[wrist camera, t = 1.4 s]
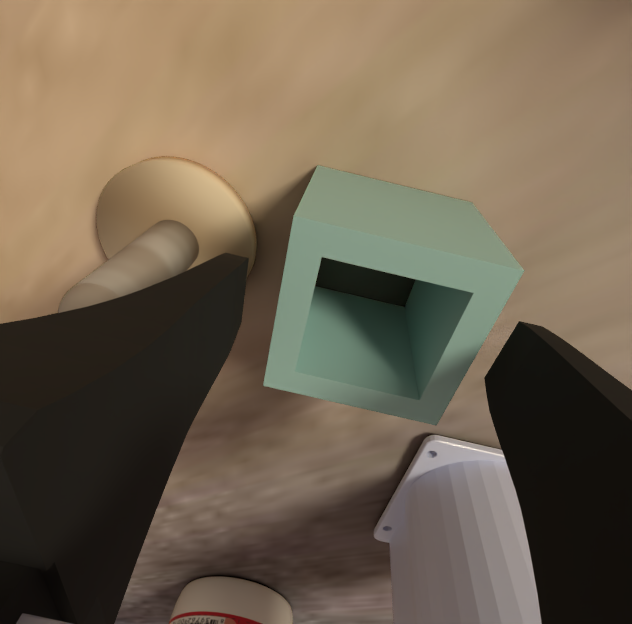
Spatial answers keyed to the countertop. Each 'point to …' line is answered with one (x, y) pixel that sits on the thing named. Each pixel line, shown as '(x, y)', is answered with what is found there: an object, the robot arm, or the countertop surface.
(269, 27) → the countertop surface
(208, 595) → the fruit juice
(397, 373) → the green hollow cube
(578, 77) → the countertop surface
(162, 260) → the spindle
